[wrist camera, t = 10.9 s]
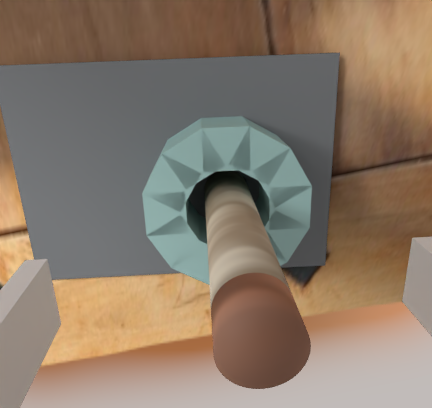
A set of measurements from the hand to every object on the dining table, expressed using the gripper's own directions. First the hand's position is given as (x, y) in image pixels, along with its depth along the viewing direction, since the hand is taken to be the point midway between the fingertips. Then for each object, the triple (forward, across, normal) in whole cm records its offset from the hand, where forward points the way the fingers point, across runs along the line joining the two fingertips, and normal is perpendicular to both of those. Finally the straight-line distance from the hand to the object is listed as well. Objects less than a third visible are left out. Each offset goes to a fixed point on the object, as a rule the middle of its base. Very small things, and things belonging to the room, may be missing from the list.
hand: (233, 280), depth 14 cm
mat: (+12, -2, +1) cm, 13 cm away
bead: (+12, 0, 0) cm, 12 cm away
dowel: (+12, +1, 0) cm, 12 cm away
